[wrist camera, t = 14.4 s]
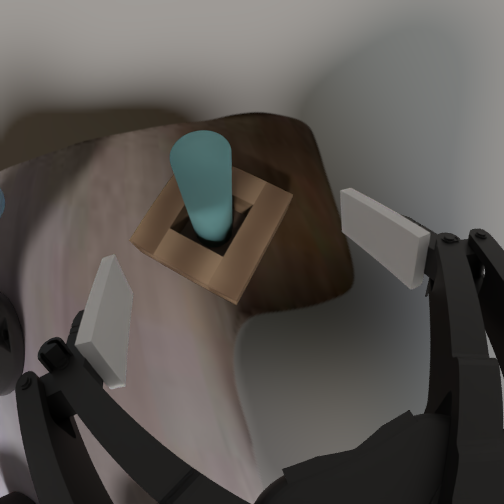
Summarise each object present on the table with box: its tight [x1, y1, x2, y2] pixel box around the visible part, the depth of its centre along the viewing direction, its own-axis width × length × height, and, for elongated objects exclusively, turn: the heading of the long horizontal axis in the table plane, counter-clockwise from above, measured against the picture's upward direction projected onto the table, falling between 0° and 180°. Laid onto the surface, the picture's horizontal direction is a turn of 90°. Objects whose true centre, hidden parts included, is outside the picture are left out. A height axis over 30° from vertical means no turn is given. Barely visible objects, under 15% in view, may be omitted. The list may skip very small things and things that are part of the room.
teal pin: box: [170, 130, 232, 247], centre depth 24 cm, size 4×4×14 cm
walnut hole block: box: [129, 166, 293, 305], centre depth 30 cm, size 12×12×4 cm
